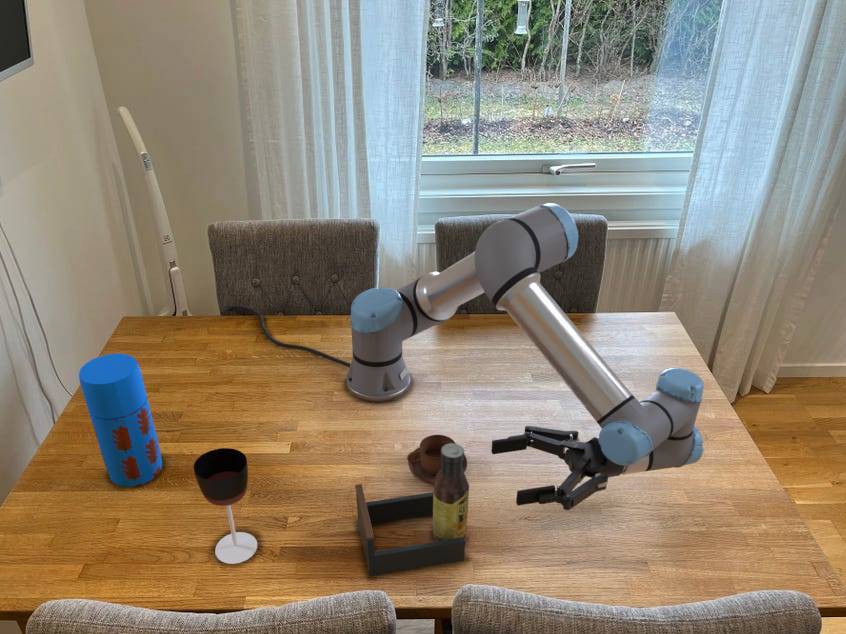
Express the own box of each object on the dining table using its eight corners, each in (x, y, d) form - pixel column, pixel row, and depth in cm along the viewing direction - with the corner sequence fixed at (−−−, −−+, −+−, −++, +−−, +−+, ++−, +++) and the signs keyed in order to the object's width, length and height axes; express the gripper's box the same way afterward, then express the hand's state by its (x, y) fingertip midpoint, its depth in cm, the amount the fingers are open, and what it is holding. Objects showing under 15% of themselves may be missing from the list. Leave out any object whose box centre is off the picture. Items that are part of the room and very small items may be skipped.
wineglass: (214, 532, 133) (197, 449, 122) (262, 529, 133) (248, 446, 123) (208, 566, 126) (189, 481, 115) (258, 562, 127) (244, 478, 116)
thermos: (173, 458, 151) (150, 358, 137) (142, 492, 142) (114, 389, 129) (130, 448, 154) (103, 349, 140) (97, 480, 145) (64, 378, 132)
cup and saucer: (426, 497, 140) (426, 473, 137) (398, 461, 149) (397, 438, 146) (478, 477, 145) (479, 454, 142) (447, 443, 154) (448, 421, 151)
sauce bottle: (463, 550, 129) (468, 466, 118) (429, 545, 130) (431, 462, 119) (468, 524, 134) (473, 441, 123) (435, 519, 135) (437, 437, 124)
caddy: (445, 508, 138) (446, 471, 132) (464, 561, 127) (466, 522, 122) (357, 522, 135) (355, 484, 130) (368, 577, 124) (367, 538, 119)
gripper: (646, 518, 121) (527, 538, 118) (585, 429, 142) (482, 444, 138) (654, 485, 117) (531, 505, 114) (590, 398, 138) (484, 412, 134)
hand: (504, 471), depth 126 cm, fingers open, 13 cm apart
